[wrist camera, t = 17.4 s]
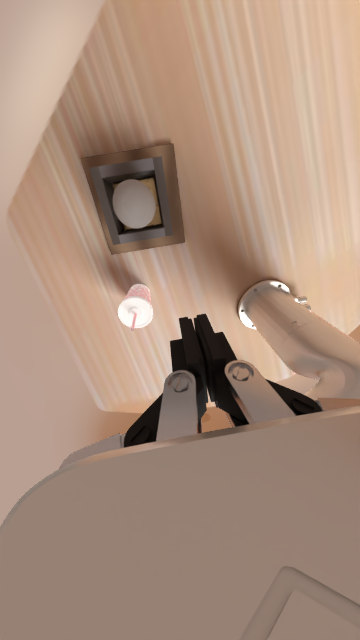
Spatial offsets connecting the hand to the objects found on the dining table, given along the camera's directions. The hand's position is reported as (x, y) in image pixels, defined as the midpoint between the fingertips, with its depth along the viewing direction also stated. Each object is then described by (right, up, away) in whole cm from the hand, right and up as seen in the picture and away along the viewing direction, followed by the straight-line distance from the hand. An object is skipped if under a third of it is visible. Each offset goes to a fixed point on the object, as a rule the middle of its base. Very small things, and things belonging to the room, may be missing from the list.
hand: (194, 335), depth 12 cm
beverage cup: (-10, +7, +29) cm, 31 cm away
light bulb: (-8, +20, +19) cm, 29 cm away
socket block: (-8, +21, +21) cm, 30 cm away
